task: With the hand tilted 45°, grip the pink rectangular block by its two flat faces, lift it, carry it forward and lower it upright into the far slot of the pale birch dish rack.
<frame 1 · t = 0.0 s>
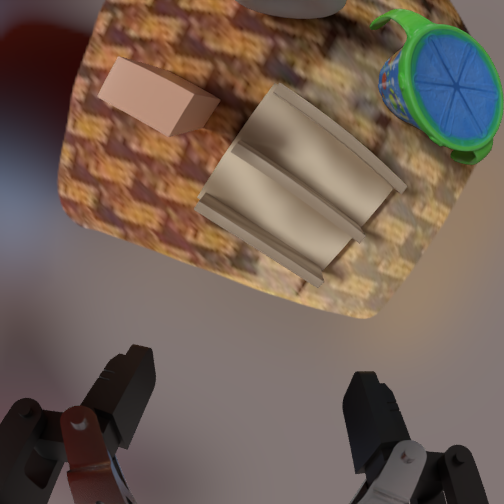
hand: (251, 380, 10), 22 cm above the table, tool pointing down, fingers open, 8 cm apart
pink rectangular block: (183, 97, 25), on the table
snack cup: (407, 89, 23), on the table
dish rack: (299, 183, 29), on the table
grey ring: (285, 8, 20), on the table
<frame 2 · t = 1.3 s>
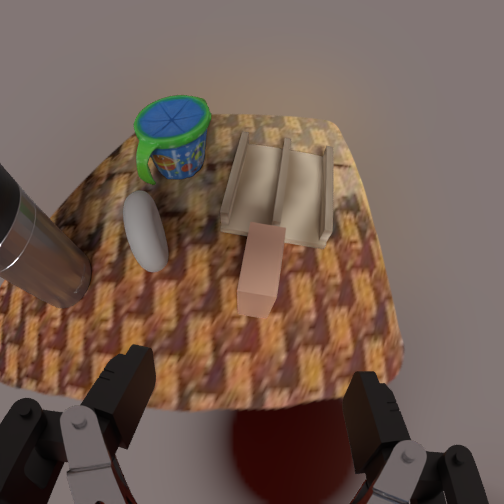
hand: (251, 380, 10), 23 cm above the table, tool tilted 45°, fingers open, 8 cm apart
pink rectangular block: (256, 289, 35), on the table
snack cup: (181, 164, 43), on the table
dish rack: (279, 192, 42), on the table
grey ring: (157, 249, 37), on the table
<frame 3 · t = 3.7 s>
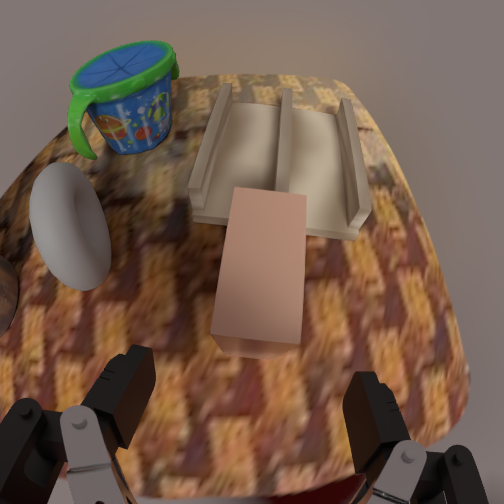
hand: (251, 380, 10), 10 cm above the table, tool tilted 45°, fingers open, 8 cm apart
pink rectangular block: (254, 311, 21), on the table
snack cup: (141, 135, 29), on the table
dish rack: (280, 161, 28), on the table
grey ring: (100, 254, 23), on the table
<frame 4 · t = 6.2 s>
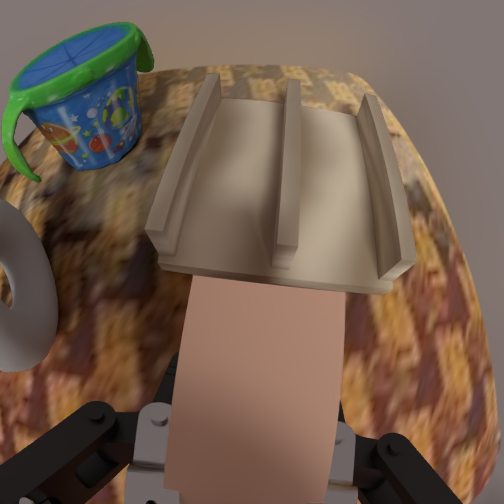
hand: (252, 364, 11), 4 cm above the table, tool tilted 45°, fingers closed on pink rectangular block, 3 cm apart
pink rectangular block: (246, 402, 14), on the table, touching gripper
snack cup: (106, 144, 22), on the table
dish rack: (284, 179, 20), on the table
grey ring: (49, 308, 16), on the table
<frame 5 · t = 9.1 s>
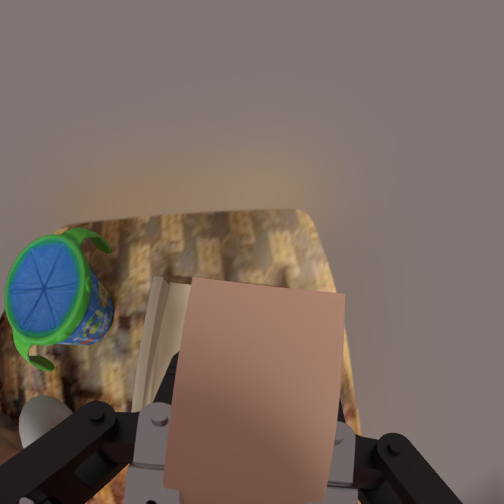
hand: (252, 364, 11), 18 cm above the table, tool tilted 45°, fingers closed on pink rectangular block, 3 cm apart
pink rectangular block: (246, 403, 14), point 14 cm above the table, touching gripper
snack cup: (89, 314, 29), on the table
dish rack: (217, 365, 28), on the table
grey ring: (80, 435, 23), on the table
when the fingers open (7 cm above the table, at t = 12.4 s): pink rectangular block drops 1 cm, resting on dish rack.
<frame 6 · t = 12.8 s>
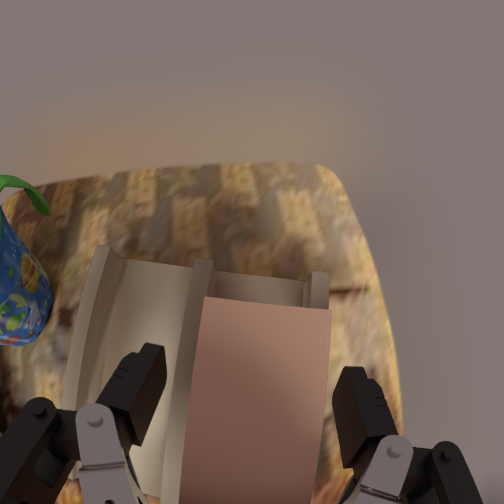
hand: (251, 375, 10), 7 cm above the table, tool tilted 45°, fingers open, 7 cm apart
pink rectangular block: (248, 401, 15), point 1 cm above the table, touching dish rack
snack cup: (26, 303, 18), on the table
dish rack: (194, 391, 16), on the table
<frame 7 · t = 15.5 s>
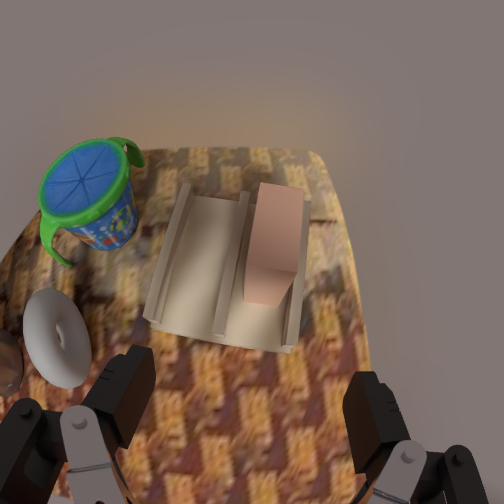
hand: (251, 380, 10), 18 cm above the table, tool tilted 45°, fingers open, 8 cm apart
pink rectangular block: (265, 271, 30), point 1 cm above the table, touching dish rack
snack cup: (112, 226, 33), on the table
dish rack: (233, 270, 31), on the table
grey ring: (83, 345, 27), on the table
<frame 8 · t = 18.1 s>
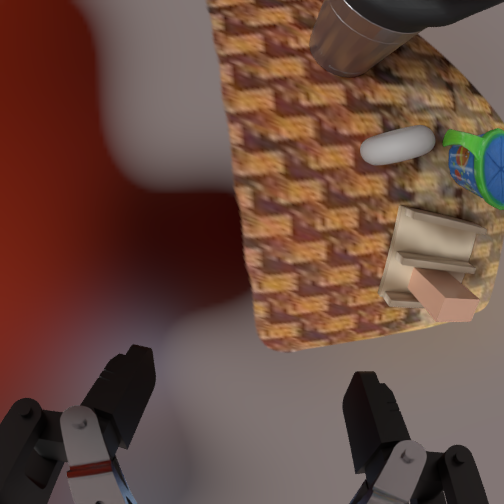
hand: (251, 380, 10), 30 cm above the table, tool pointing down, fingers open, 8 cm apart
pink rectangular block: (427, 279, 39), point 1 cm above the table, touching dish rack
snack cup: (462, 162, 34), on the table
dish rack: (430, 256, 39), on the table
grey ring: (382, 144, 34), on the table
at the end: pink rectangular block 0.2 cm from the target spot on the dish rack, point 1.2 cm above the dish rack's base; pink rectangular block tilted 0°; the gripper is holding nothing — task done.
